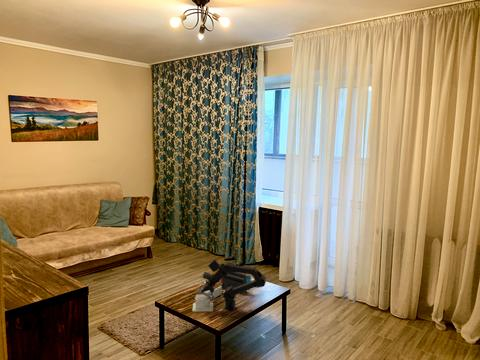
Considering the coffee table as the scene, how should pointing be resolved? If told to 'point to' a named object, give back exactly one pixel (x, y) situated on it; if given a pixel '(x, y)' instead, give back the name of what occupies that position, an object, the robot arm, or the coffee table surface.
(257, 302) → the coffee table surface
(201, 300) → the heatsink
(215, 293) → the toy car
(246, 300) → the coffee table surface
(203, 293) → the strap
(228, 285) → the game console
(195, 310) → the board
